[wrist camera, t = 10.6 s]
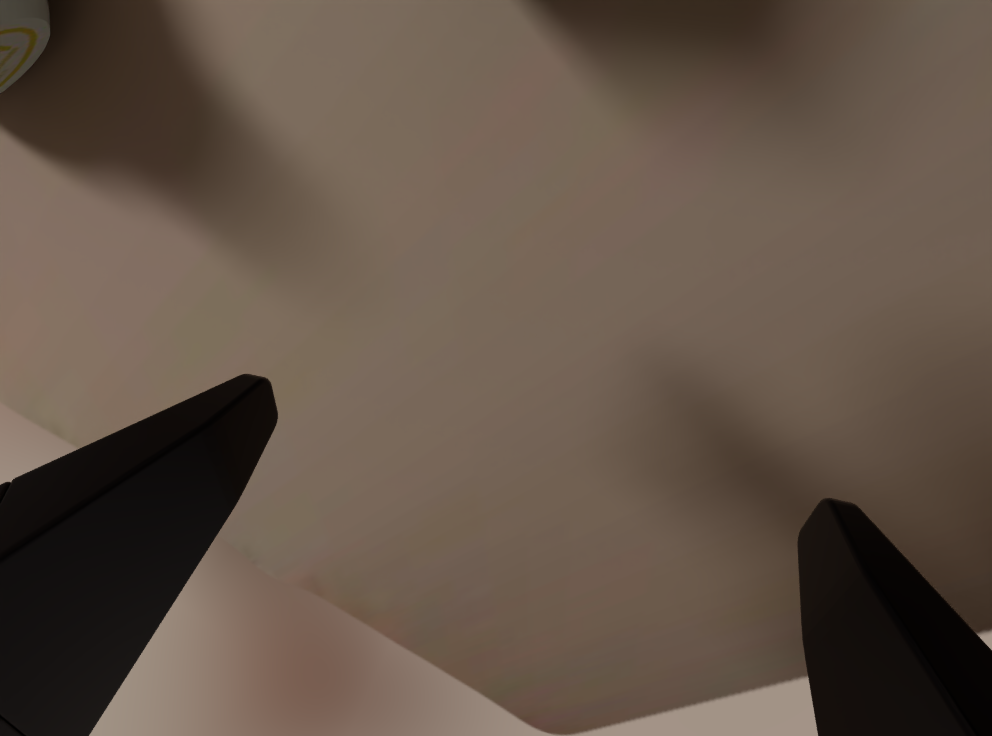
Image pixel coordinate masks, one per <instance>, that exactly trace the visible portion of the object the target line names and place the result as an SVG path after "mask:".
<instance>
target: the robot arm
mask: <svg viewBox="0 0 992 736" xmlns="http://www.w3.org/2000/svg"><path fill="white" fill-rule="evenodd" d="M277 419H278V411H277V407H276V403H275V398H274V394H273V390H272V385H271V382H270V381H269V380H268V379H267V378H265V377H261V376H256V375H251V374H242V375H240V376H237V377H235V378H233V379H231V380H229V381H226V382H224V383H222V384H220V385H218V386H215V387H213V388H211V389H209V390H207V391H205V392H202V393H200V394H198V395H196V396H194V397H191V398H189V399H187V400H185V401H183V402H181V403H178V404H176V405H174V406H172V407H170V408H167V409H165V410H163V411H161V412H159V413H156V414H154V415H152V416H150V417H148V418H146V419H143V420H141V421H139V422H137V423H135V424H132V425H130V426H128V427H126V428H124V429H122V430H119V431H117V432H115V433H113V434H111V435H108V436H106V437H104V438H102V439H100V440H97V441H95V442H93V443H91V444H89V445H87V446H84V447H82V448H80V449H78V450H76V451H73V452H72V453H69V454H67V455H65V456H62V457H60V458H58V459H56V460H54V461H52V462H50V463H47V464H45V465H43V466H41V467H38V468H36V469H34V470H32V471H30V472H27V473H25V474H23V475H21V476H19V477H16V478H15V479H13V480H12V482H5V483H3V484H1V485H0V736H89V734H90V733H91V732H92V730H93V728H94V727H95V725H96V724H97V722H98V721H99V719H100V717H101V716H102V714H103V713H104V711H105V710H106V708H107V706H108V705H109V703H110V702H111V700H112V699H113V697H114V695H115V694H116V692H117V691H118V689H119V688H120V686H121V685H122V683H123V681H124V680H125V678H126V677H127V675H128V674H129V672H130V670H131V669H132V667H133V666H134V664H135V663H136V661H137V659H138V658H139V656H140V655H141V653H142V652H143V650H144V649H145V647H146V645H147V644H148V642H149V641H150V639H151V638H152V636H153V634H154V633H155V631H156V630H157V628H158V627H159V625H160V623H161V622H162V620H163V619H164V617H165V616H166V614H167V612H168V611H169V609H170V608H171V606H172V604H173V603H174V602H175V600H176V598H177V597H178V595H179V594H180V592H181V591H182V589H183V587H184V586H185V584H186V583H187V581H188V579H189V578H190V576H191V574H192V573H193V572H194V570H195V569H196V567H197V565H198V564H199V562H200V561H201V559H202V558H203V556H204V555H205V553H206V551H207V550H208V548H209V547H210V545H211V543H212V542H213V540H214V539H215V537H216V536H217V534H218V533H219V531H220V529H221V528H222V526H223V525H224V523H225V522H226V520H227V518H228V517H229V515H230V514H231V512H232V510H233V509H234V507H235V506H236V504H237V502H238V500H239V499H240V497H241V495H242V493H243V491H244V489H245V487H246V485H247V483H248V481H249V479H250V477H251V475H252V473H253V471H254V469H255V467H256V465H257V463H258V461H259V459H260V457H261V455H262V453H263V451H264V449H265V447H266V445H267V443H268V441H269V439H270V437H271V435H272V433H273V431H274V429H275V426H276V424H277ZM798 563H799V584H800V605H801V625H802V638H803V646H804V653H805V660H806V666H807V672H808V678H809V683H810V690H811V695H812V701H813V707H814V713H815V719H816V725H817V731H818V736H992V650H991V649H990V648H989V647H988V646H987V645H986V644H985V643H984V642H983V641H982V640H981V639H980V637H979V636H978V635H977V634H976V633H975V632H974V631H973V630H972V629H971V628H970V627H969V625H968V624H967V623H966V622H965V621H964V620H963V619H962V618H961V617H960V616H959V615H958V614H957V613H956V611H955V610H954V609H953V608H952V607H951V606H950V605H949V604H948V603H947V602H946V601H945V600H944V599H943V597H942V596H941V595H940V594H939V593H938V592H937V591H936V590H935V589H934V588H933V587H932V586H931V585H930V583H929V582H928V581H927V580H926V579H925V578H924V577H923V576H922V575H921V574H920V573H919V572H918V570H917V569H916V568H915V567H914V566H913V565H912V564H911V563H910V562H909V561H908V560H907V559H906V558H905V556H904V555H903V554H902V553H901V552H900V551H899V550H898V549H897V548H896V547H895V546H894V545H893V544H892V542H891V541H890V540H889V539H888V538H887V537H886V536H885V535H884V534H883V533H882V532H881V531H880V530H879V528H878V527H877V526H876V525H875V524H874V523H873V522H872V521H871V520H870V519H869V518H868V517H867V516H866V514H865V513H864V512H863V511H862V510H861V509H860V508H859V507H858V506H856V505H855V504H853V503H850V502H846V501H841V500H836V499H832V498H825V499H823V500H821V501H820V503H819V504H818V505H817V507H816V508H815V509H814V511H813V512H812V514H811V515H810V517H809V518H808V520H807V521H806V522H805V524H804V525H803V527H802V528H801V530H800V533H799V536H798Z"/></svg>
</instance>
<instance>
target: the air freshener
mask: <svg viewBox="0 0 992 736" xmlns="http://www.w3.org/2000/svg"><path fill="white" fill-rule="evenodd" d="M49 37H50V14H49V7H48V1H47V0H0V94H1V93H2V92H3V91H5V90H6V89H7V88H8V87H10V86H11V85H12V84H13V83H14V82H15V81H17V80H18V79H19V78H20V77H21V76H22V75H23V74H24V73H25V72H26V71H27V70H28V69H29V68H30V67H31V66H32V65H33V64H34V62H35V61H36V60H37V59H38V58H39V56H40V55H41V53H42V52H43V50H44V49H45V47H46V45H47V42H48V40H49Z"/></svg>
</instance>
